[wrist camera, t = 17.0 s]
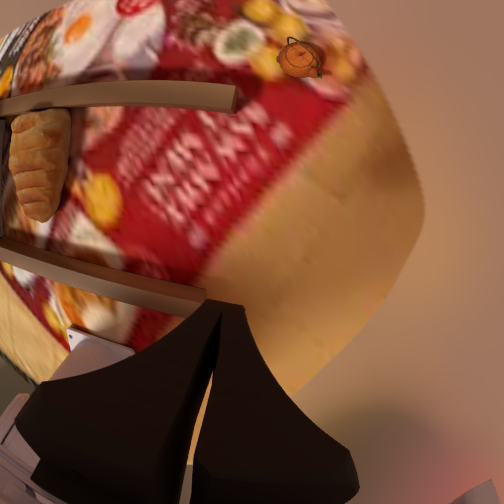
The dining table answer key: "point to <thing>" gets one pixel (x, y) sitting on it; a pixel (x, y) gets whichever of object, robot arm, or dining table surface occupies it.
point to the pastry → (40, 160)
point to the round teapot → (299, 60)
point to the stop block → (0, 136)
